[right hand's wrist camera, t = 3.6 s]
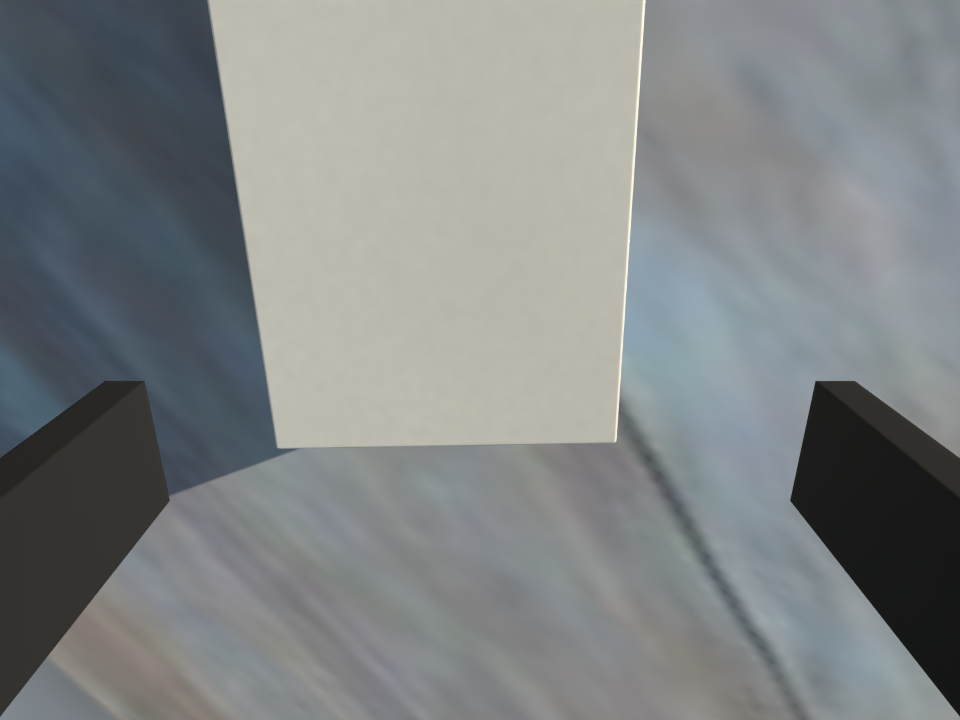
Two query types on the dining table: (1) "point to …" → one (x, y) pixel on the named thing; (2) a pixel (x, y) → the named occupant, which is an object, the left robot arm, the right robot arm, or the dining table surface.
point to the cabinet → (435, 213)
